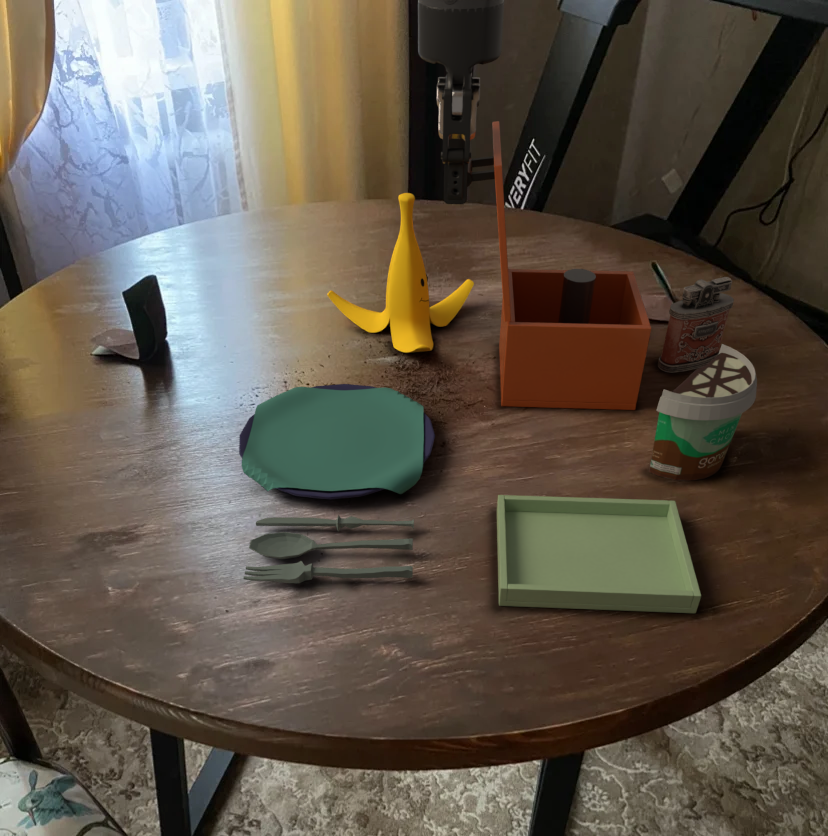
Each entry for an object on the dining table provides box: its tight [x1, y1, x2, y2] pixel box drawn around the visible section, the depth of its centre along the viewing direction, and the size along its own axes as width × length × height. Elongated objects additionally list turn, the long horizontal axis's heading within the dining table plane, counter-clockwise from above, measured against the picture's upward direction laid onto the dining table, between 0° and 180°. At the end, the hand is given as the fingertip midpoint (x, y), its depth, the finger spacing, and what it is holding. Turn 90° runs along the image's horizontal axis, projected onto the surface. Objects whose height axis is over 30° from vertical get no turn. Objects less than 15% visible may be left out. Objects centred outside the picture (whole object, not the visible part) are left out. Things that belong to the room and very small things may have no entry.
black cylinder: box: [558, 268, 596, 324], centre depth 94 cm, size 3×3×11 cm
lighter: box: [657, 276, 735, 374], centre depth 96 cm, size 8×3×10 cm, turn 114°
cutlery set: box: [238, 383, 436, 584], centre depth 82 cm, size 20×30×2 cm, turn 179°
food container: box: [648, 343, 758, 482], centre depth 81 cm, size 12×6×10 cm, turn 137°
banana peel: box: [326, 192, 475, 354], centre depth 101 cm, size 17×19×17 cm
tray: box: [496, 494, 702, 614], centre depth 73 cm, size 16×12×2 cm
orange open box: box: [498, 268, 652, 411], centre depth 94 cm, size 15×14×10 cm
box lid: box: [467, 120, 511, 322], centre depth 86 cm, size 15×14×4 cm
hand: (455, 187), depth 84 cm, fingers open, 8 cm apart
